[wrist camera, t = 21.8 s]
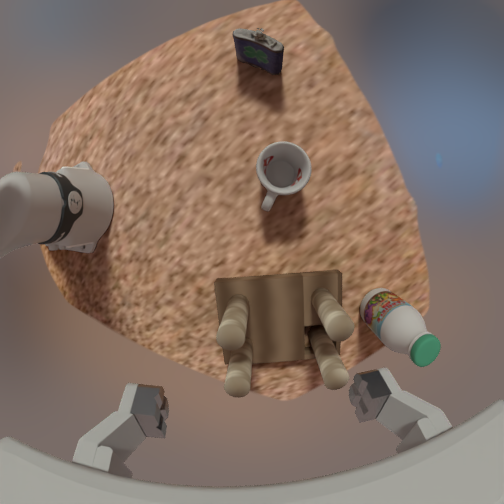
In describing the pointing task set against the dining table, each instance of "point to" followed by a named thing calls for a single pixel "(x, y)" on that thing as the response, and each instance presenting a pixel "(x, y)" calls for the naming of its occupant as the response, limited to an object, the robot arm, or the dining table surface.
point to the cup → (282, 170)
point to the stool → (275, 319)
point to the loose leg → (328, 358)
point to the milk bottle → (399, 326)
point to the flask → (259, 50)
